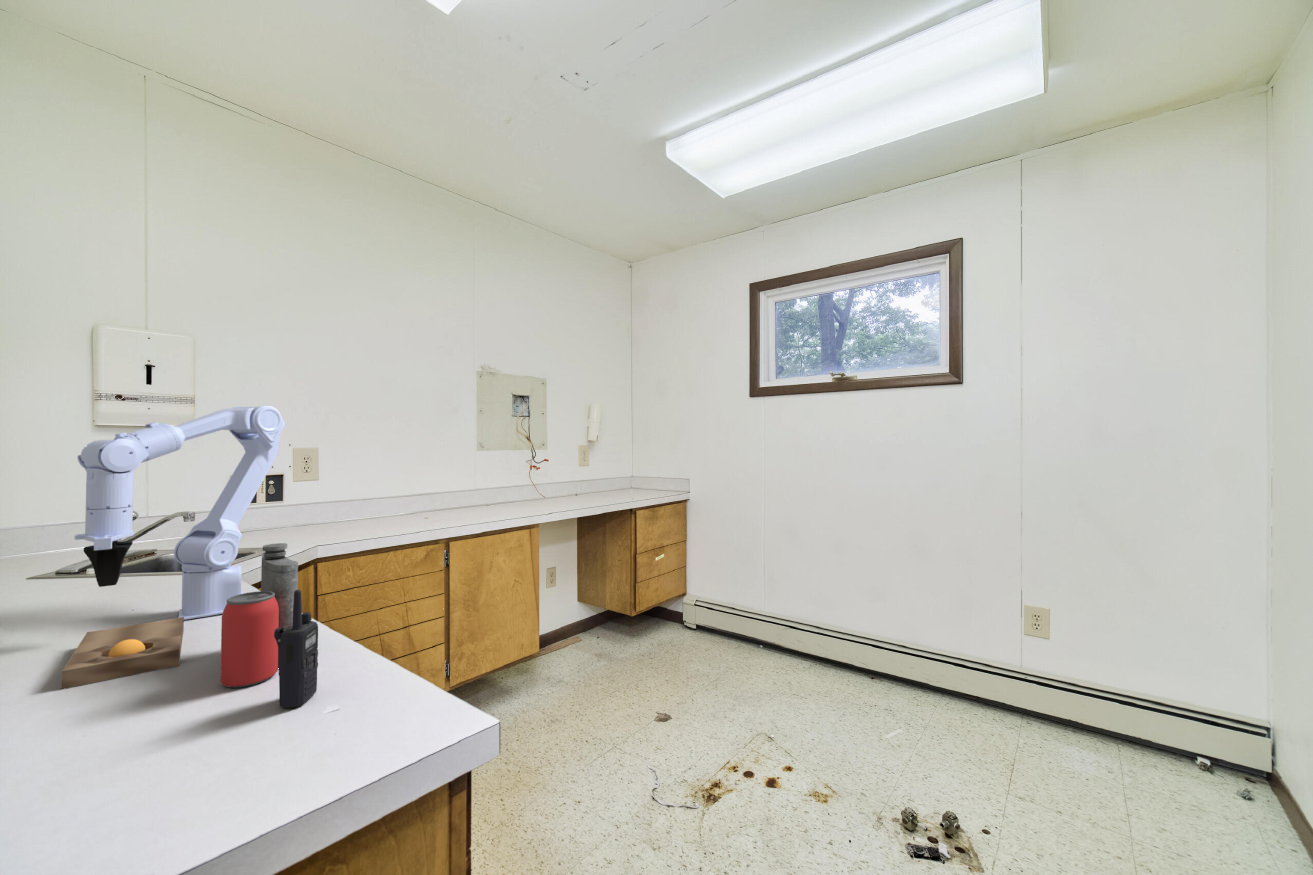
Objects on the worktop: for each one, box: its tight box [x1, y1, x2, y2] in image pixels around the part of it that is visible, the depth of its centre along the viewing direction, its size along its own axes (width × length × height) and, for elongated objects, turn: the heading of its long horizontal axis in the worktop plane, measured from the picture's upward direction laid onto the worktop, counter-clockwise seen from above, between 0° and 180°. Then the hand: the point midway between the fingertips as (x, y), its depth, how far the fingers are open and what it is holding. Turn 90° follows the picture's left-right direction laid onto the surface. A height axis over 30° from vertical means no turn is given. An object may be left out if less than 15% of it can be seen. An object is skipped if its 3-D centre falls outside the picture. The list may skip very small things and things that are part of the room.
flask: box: [260, 542, 299, 668], centre depth 84 cm, size 4×14×18 cm, turn 45°
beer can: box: [220, 590, 279, 689], centre depth 75 cm, size 7×7×12 cm
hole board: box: [60, 617, 185, 690], centre depth 83 cm, size 12×20×2 cm, turn 41°
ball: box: [108, 639, 145, 657], centre depth 79 cm, size 4×4×4 cm
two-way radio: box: [274, 589, 319, 709], centre depth 69 cm, size 6×4×15 cm
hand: (108, 585), depth 91 cm, fingers closed
